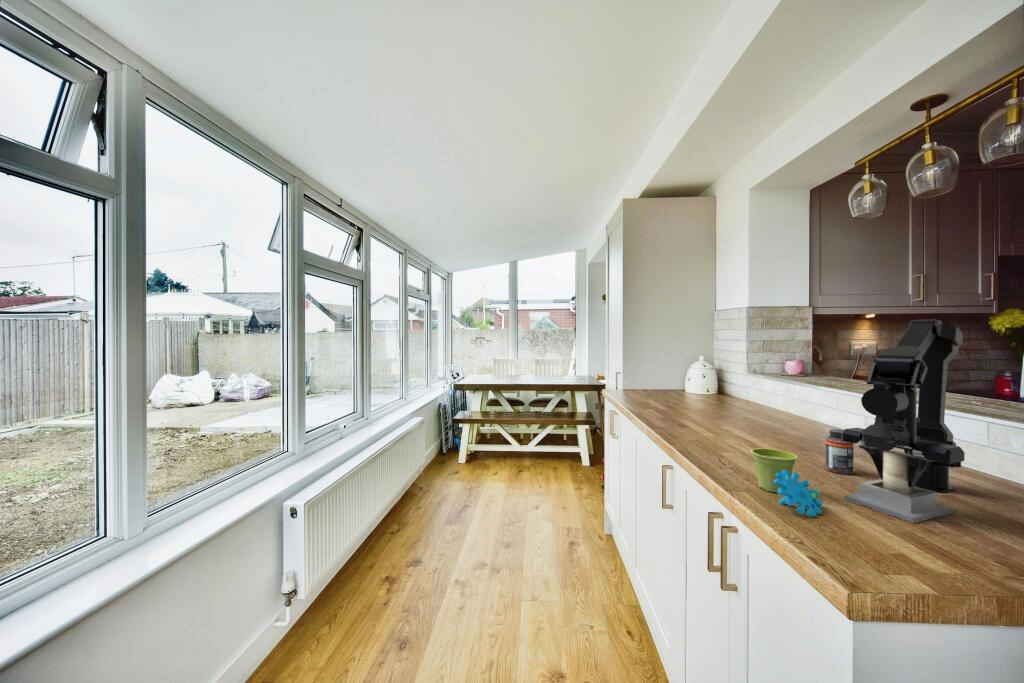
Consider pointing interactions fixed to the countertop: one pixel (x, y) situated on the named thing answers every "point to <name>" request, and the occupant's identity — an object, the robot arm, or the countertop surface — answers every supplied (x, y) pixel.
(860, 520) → the countertop surface
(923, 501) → the socket collar
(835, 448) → the supplement bottle
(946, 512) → the socket plate
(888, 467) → the beech peg
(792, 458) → the plant pot
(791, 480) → the blue knobbly cluster
